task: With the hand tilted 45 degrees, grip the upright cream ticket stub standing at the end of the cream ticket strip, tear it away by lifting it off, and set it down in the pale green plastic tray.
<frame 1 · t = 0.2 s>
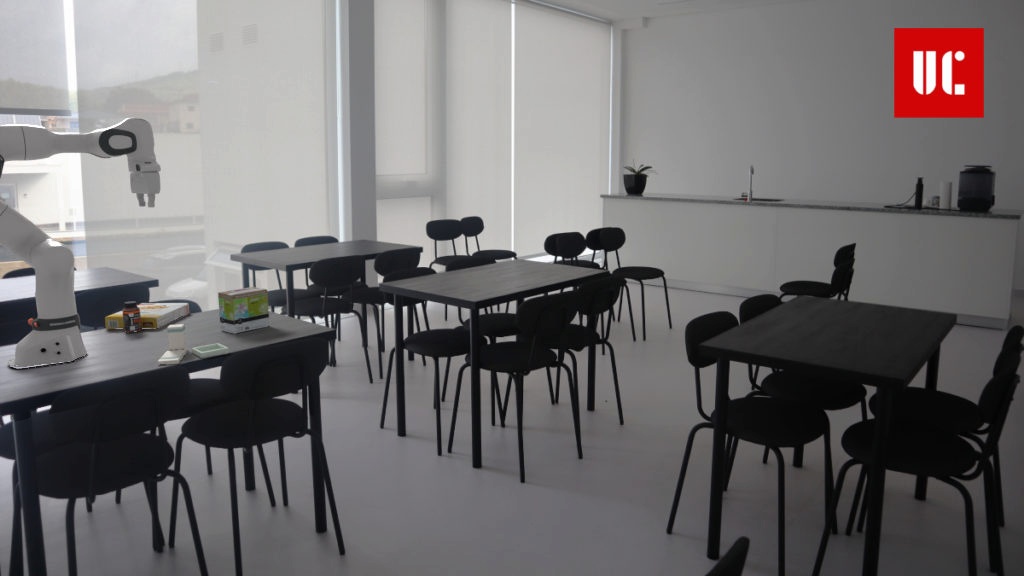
hand: (146, 206, 267), 48 cm above the table, tool pointing down, fingers open, 8 cm apart
tea box: (245, 329, 291), on the table
tray: (210, 353, 257), on the table
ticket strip: (172, 358, 251), on the table
stub: (178, 351, 260), on the table
cereal box: (149, 323, 307), on the table
supplement bottle: (133, 332, 290), on the table
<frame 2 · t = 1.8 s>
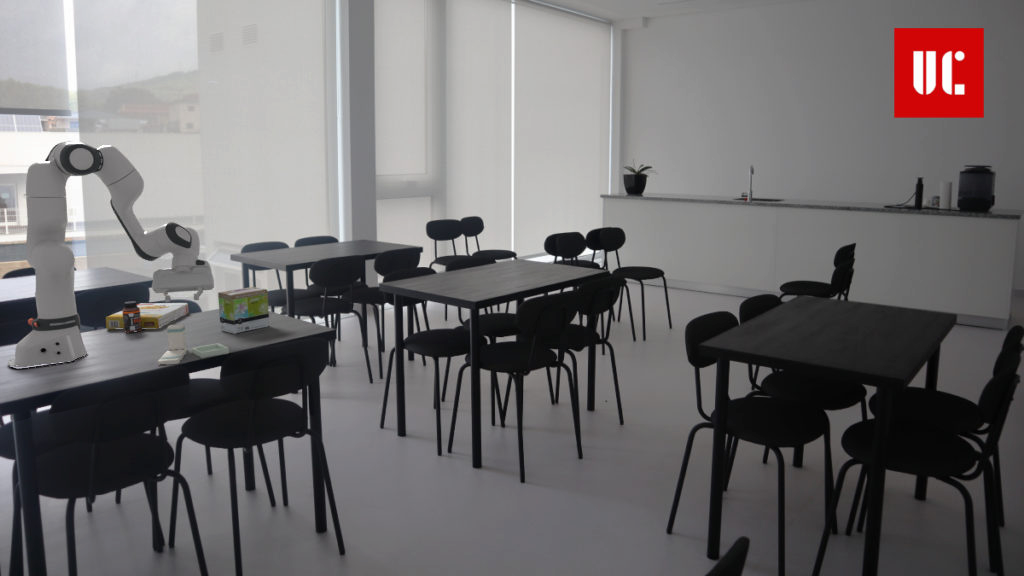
hand: (181, 300, 269), 15 cm above the table, tool tilted 45°, fingers open, 8 cm apart
nothing on the table moved.
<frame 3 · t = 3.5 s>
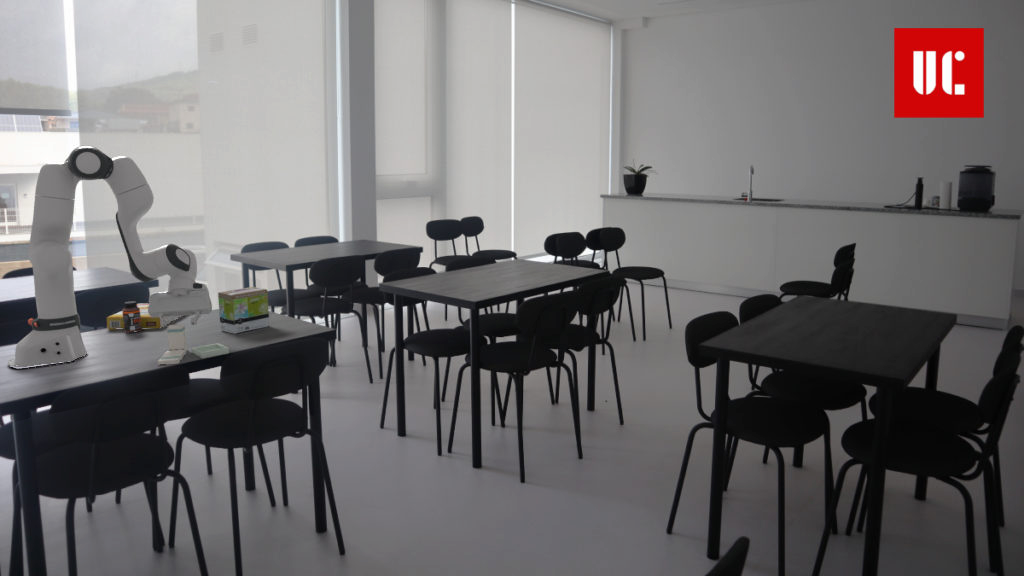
hand: (178, 324, 262), 8 cm above the table, tool tilted 45°, fingers open, 8 cm apart
nothing on the table moved.
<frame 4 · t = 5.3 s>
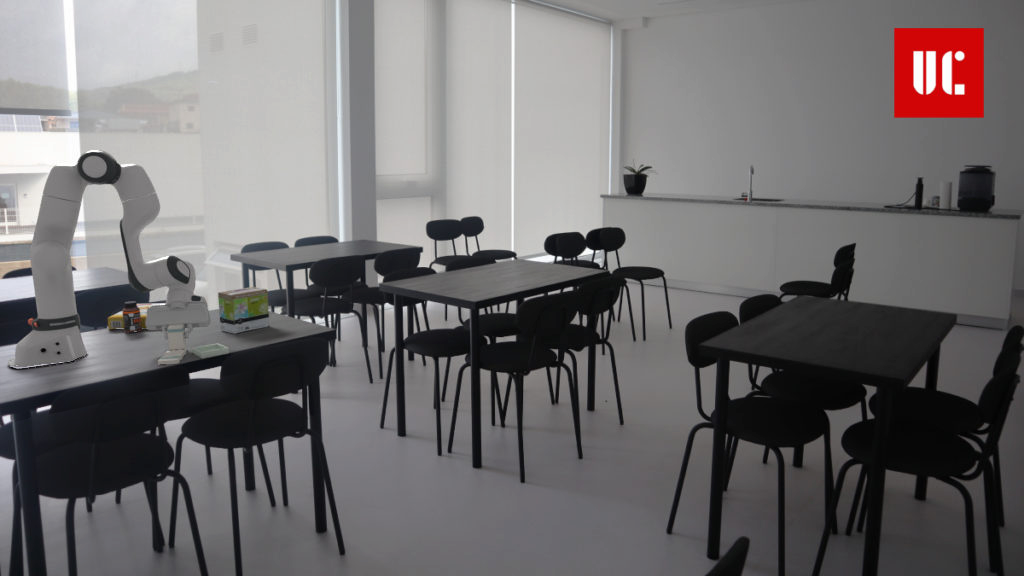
hand: (176, 338, 258), 5 cm above the table, tool tilted 45°, fingers closed on stub, 4 cm apart
stub: (178, 351, 260), on the table, touching gripper
everything else where it was.
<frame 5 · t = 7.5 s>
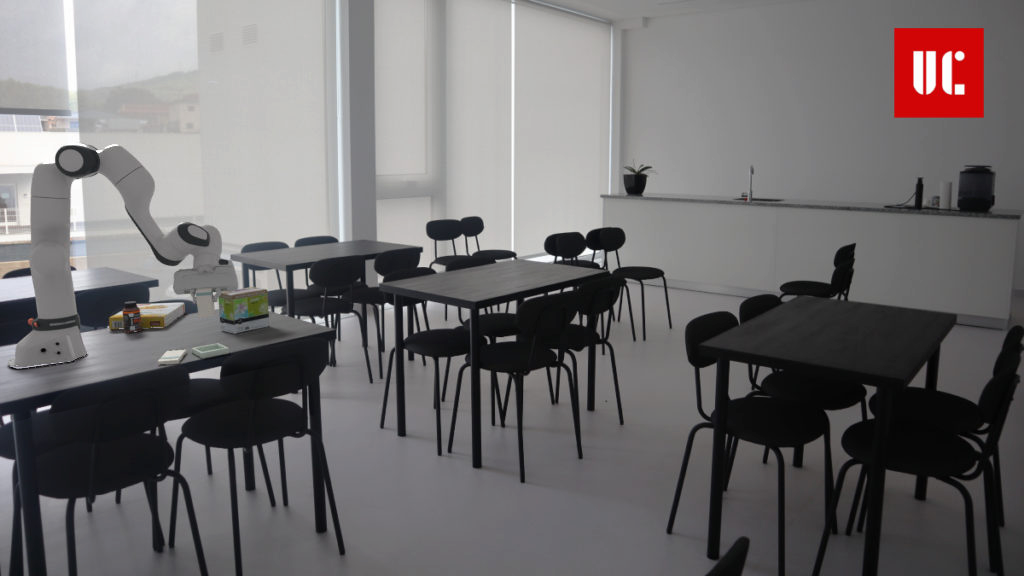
hand: (205, 301, 254), 17 cm above the table, tool tilted 45°, fingers closed on stub, 4 cm apart
stub: (207, 316, 255), point 13 cm above the table, touching gripper
when the fingers open (7 cm above the table, at t = 9.9 s): stub drops 1 cm, resting on tray.
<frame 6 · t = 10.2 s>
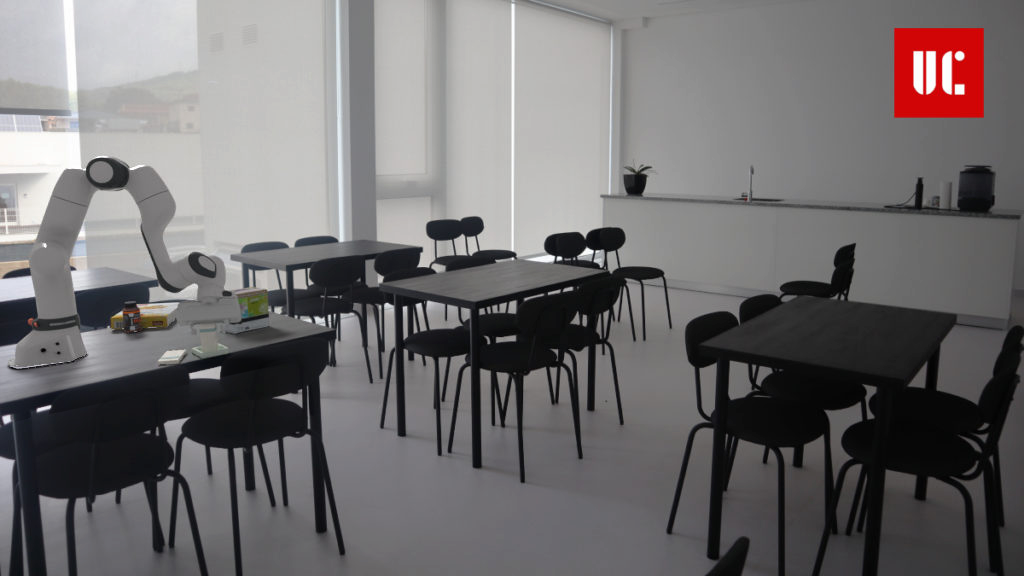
hand: (208, 333, 255), 7 cm above the table, tool tilted 45°, fingers open, 8 cm apart
stub: (210, 351, 257), point 1 cm above the table, touching tray
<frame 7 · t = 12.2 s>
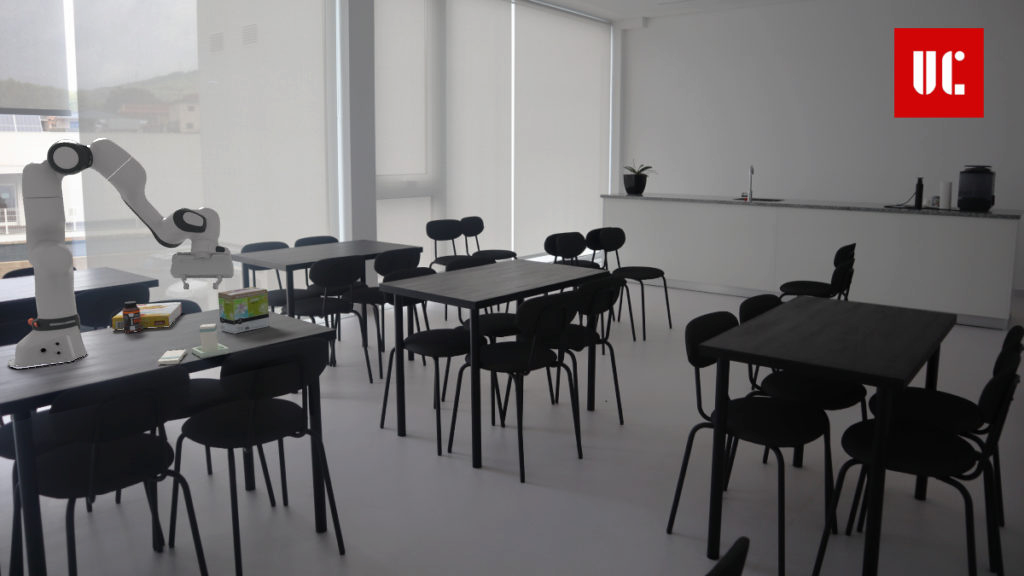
hand: (200, 288, 263), 20 cm above the table, tool tilted 35°, fingers open, 8 cm apart
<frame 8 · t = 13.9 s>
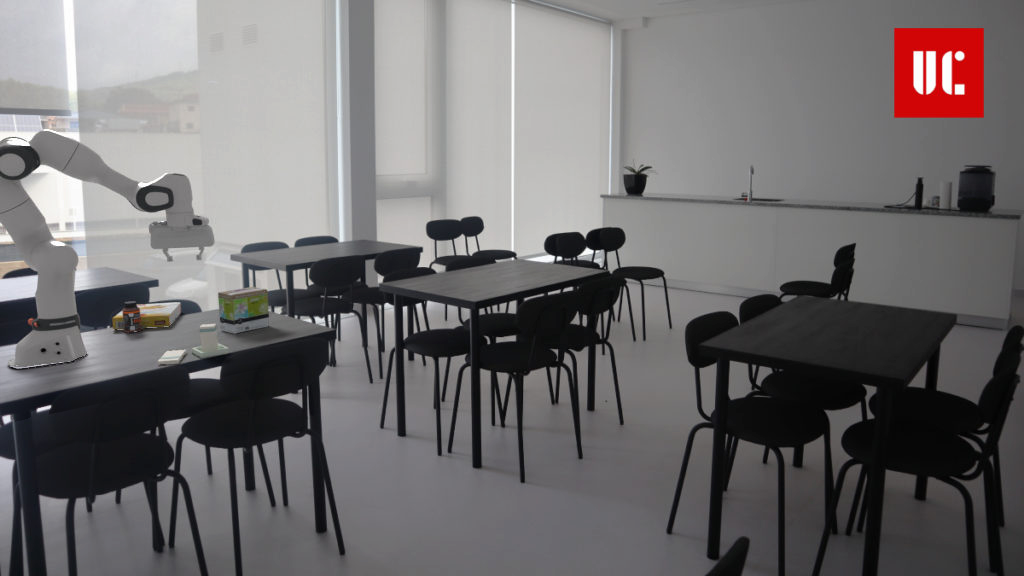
hand: (184, 260, 266), 29 cm above the table, tool pointing down, fingers open, 8 cm apart
at the end: stub inside the target area on the tray (0.1 cm from its centre), point 0.5 cm above the tray's base; the gripper is holding nothing; stub moved 12.2 cm from its start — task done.
